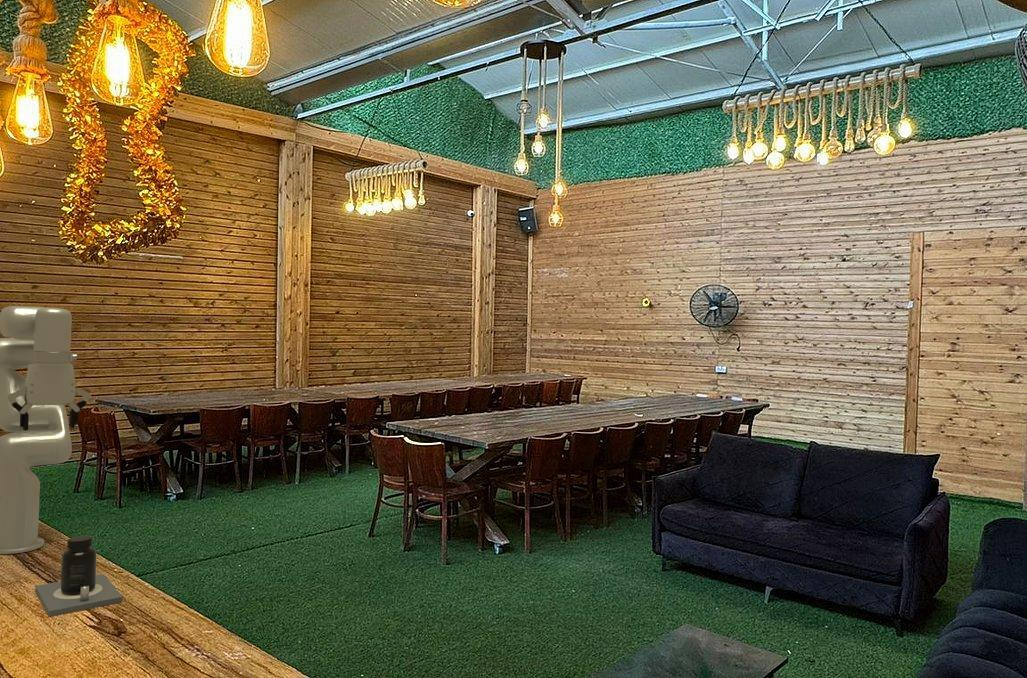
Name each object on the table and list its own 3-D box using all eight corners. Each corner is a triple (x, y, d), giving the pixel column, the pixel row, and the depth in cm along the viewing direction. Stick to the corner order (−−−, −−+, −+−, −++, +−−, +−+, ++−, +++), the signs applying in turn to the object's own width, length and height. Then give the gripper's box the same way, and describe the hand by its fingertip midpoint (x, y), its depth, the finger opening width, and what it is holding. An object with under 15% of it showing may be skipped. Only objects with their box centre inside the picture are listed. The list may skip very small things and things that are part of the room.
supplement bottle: (102, 586, 164) (104, 535, 164) (81, 597, 157) (83, 543, 157) (74, 584, 165) (76, 533, 165) (53, 594, 158) (55, 541, 158)
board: (35, 590, 163) (35, 572, 163) (103, 578, 172) (104, 561, 172) (48, 616, 150) (49, 597, 150) (122, 602, 159) (122, 583, 159)
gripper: (88, 358, 180) (86, 424, 181) (6, 357, 169) (3, 428, 169) (95, 360, 175) (92, 428, 175) (10, 359, 163) (7, 432, 163)
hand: (49, 428), depth 172 cm, fingers open, 9 cm apart
